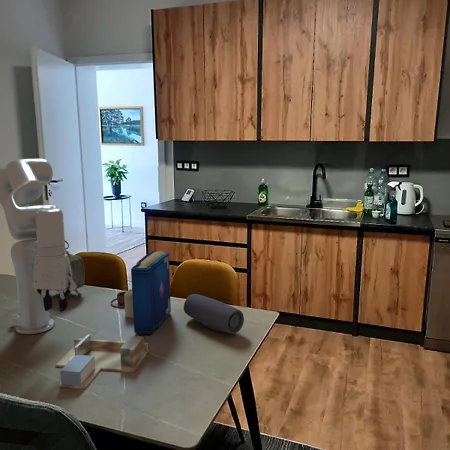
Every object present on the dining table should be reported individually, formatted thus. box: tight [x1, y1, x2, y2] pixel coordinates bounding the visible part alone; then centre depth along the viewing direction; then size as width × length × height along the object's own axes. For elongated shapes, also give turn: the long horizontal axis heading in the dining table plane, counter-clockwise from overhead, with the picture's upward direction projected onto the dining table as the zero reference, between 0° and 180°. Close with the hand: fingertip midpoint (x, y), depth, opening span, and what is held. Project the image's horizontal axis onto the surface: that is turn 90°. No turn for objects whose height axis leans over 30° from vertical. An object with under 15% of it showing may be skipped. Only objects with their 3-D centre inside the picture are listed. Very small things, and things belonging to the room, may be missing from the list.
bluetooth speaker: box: [183, 293, 245, 335], centre depth 156 cm, size 23×9×10 cm, turn 45°
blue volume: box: [130, 250, 172, 336], centre depth 156 cm, size 22×7×25 cm, turn 168°
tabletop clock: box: [55, 240, 86, 299], centre depth 184 cm, size 14×9×25 cm, turn 66°
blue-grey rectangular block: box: [59, 355, 95, 386], centre depth 122 cm, size 6×9×4 cm, turn 172°
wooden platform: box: [55, 335, 150, 390], centre depth 128 cm, size 24×24×6 cm
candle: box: [124, 288, 134, 319], centre depth 166 cm, size 6×6×10 cm
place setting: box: [110, 290, 128, 309], centre depth 176 cm, size 18×20×6 cm
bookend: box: [68, 334, 92, 362], centre depth 133 cm, size 3×9×5 cm, turn 172°
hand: (56, 309), depth 132 cm, fingers open, 4 cm apart
